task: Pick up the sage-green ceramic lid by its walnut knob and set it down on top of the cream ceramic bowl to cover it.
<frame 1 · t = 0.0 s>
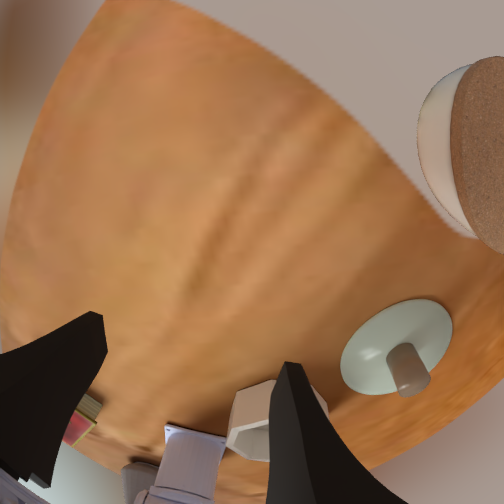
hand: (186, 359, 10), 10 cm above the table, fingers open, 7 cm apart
lid: (397, 349, 22), on the table
bowl: (278, 409, 25), on the table
lidded jar: (450, 145, 15), on the table
hardcover book: (61, 399, 32), on the table
coffee pot: (175, 478, 38), on the table
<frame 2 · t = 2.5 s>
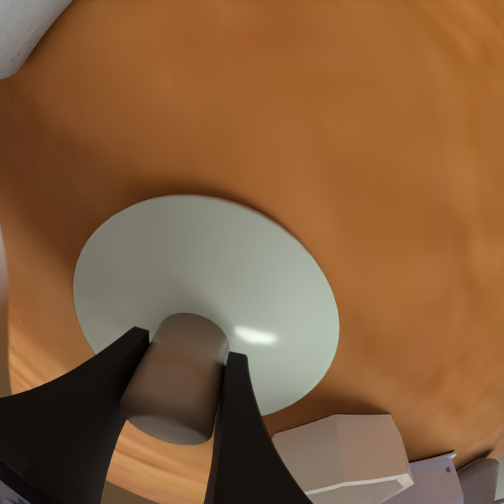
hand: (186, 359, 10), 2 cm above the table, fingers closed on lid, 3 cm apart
lid: (196, 330, 11), on the table, touching gripper
bowl: (332, 449, 15), on the table
coffee pot: (488, 452, 20), on the table
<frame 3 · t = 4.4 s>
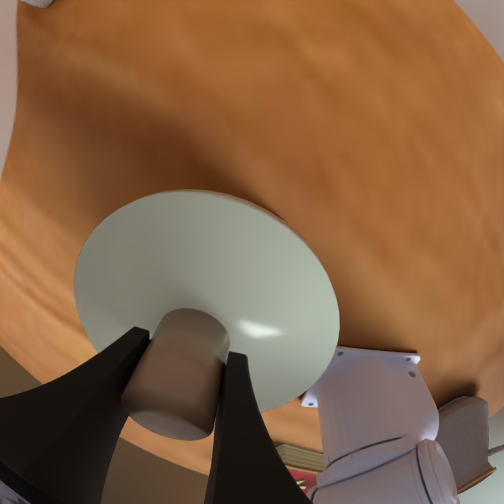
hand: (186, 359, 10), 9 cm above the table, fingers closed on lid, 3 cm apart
lid: (197, 326, 11), point 7 cm above the table, touching gripper
hardcover book: (309, 466, 32), on the table
coffee pot: (474, 391, 24), on the table
when the fingers open (7 cm above the table, at t = 6.0 s): lid stays where it is, resting on bowl.
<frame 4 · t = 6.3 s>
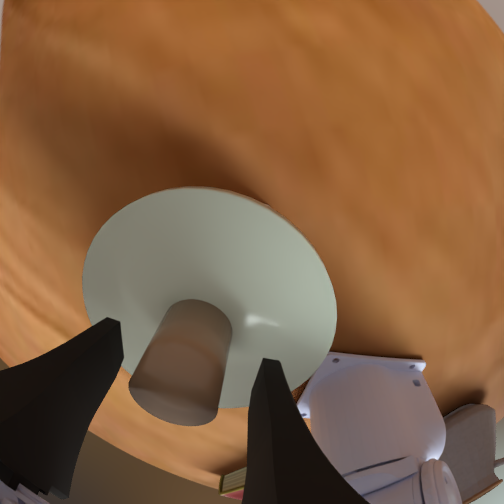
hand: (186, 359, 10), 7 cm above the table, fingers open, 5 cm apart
lid: (201, 318, 12), point 4 cm above the table, touching bowl
hardcover book: (305, 476, 29), on the table
coffee pot: (481, 398, 21), on the table
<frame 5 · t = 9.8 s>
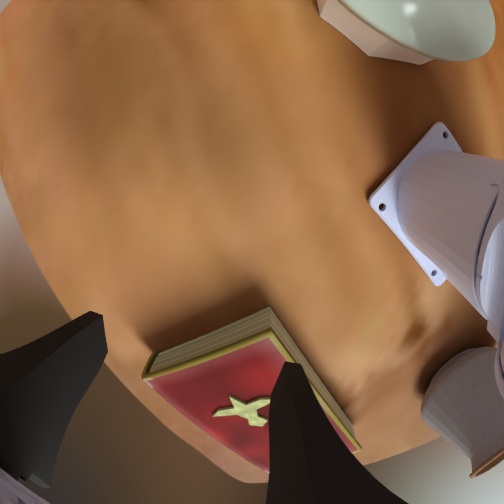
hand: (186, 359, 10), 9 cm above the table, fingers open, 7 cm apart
bowl: (383, 3, 11), on the table
hardcover book: (269, 397, 25), on the table
coffee pot: (487, 354, 21), on the table
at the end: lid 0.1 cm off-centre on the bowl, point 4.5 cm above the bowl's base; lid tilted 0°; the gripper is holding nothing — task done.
